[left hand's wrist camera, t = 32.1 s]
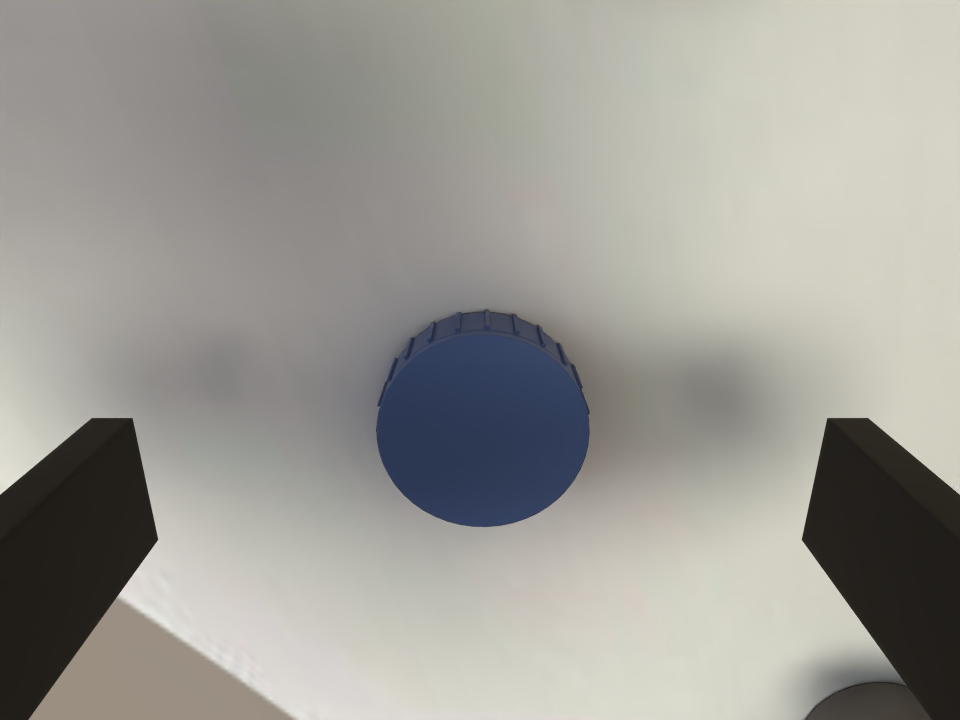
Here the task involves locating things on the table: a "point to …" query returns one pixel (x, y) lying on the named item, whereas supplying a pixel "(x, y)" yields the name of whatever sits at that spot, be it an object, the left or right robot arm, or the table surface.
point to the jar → (871, 704)
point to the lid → (482, 420)
